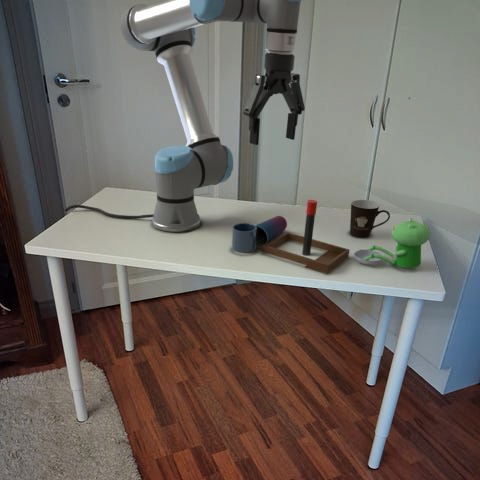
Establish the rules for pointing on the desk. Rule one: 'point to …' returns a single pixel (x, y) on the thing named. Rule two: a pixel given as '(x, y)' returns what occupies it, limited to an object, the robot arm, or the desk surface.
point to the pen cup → (244, 237)
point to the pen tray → (321, 264)
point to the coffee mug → (364, 217)
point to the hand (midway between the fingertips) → (272, 141)
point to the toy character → (405, 244)
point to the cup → (270, 229)
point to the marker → (309, 226)
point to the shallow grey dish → (365, 253)
